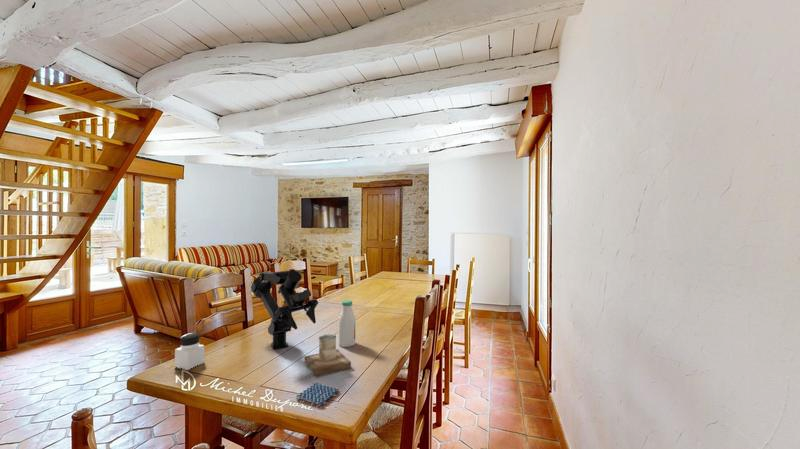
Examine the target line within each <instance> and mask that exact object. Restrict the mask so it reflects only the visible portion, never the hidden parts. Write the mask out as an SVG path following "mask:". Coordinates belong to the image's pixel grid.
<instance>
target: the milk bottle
mask: <svg viewBox="0 0 800 449" xmlns="http://www.w3.org/2000/svg"><path fill="white" fill-rule="evenodd" d="M341 304H342V305H341V307H342V310H341V312H340V314H339V318H338V342H337V343H338V345H339V347H342V348H349V347H353V346H355V344H356V315H355V313H354V311H353V301H352V300H343V301H342V302H341Z"/></svg>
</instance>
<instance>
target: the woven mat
mask: <svg viewBox="0 0 800 449" xmlns="http://www.w3.org/2000/svg"><path fill="white" fill-rule="evenodd" d="M340 393H341V391H340V389H339V388H337V387H334V386H329V385H326V384H322V383H319V382H317V383H312V385H309V387H307V388H306V389H304V390H303V391H302V392H299V394H297V395H296V399H295V400H296V401H297V402H299V401H300V403H302V404H304V403H305V404H306V405H307V406H313V407H316V408H320V409H322V408H324V407H325V406H326V405H327V404H328V403H330V402H331V401H332V400H333V399H334V398H336V397H337V396H338V395H339V394H340Z"/></svg>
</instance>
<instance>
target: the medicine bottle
mask: <svg viewBox="0 0 800 449" xmlns="http://www.w3.org/2000/svg"><path fill="white" fill-rule="evenodd" d="M205 355H206V354H205V345H204V344H200V335H199V333H195V332H191V333H190V332H189V333H186V334H184V335H182V336H181V337H180V347H177V348H175V349H174V368H176V367H177V369H181V368H182V369H181V370H186V371H189V370H191V368H192V369H193V367H194V368H195V366H196V367H197V365H198V366H200V365H202V364H204V363H205V358H206V357H205Z"/></svg>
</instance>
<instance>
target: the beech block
mask: <svg viewBox="0 0 800 449" xmlns="http://www.w3.org/2000/svg"><path fill="white" fill-rule="evenodd" d="M318 340H319V341H318V342H319V343H318V344H319V346H318V348H319V349H318V353H319V360H321V361H324V362H328V361H330V360H332V359H335V358H336V350H337V335H336V334H333V333H330V332H329V333H326V334H323V335H321V336H318Z"/></svg>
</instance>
